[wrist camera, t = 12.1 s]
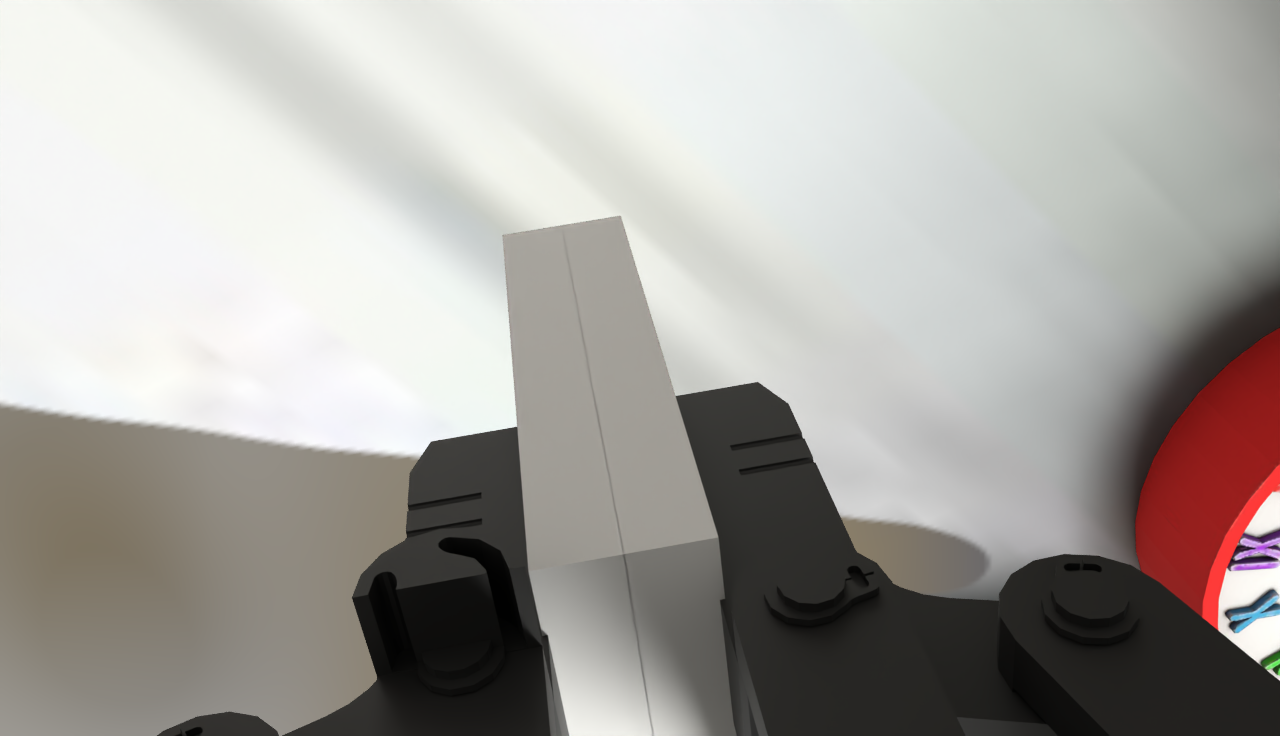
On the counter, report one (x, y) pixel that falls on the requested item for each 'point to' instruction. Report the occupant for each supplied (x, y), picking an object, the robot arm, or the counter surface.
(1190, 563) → the red round bowl
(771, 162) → the counter surface
